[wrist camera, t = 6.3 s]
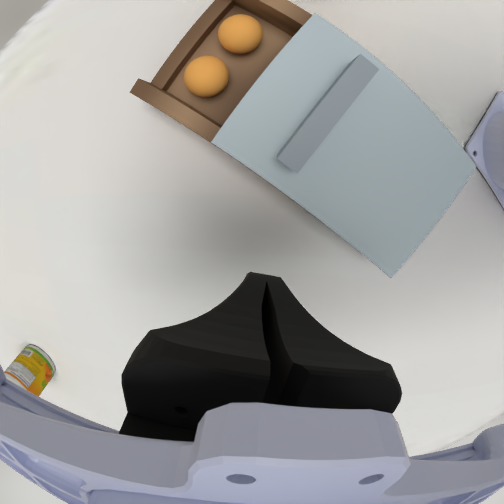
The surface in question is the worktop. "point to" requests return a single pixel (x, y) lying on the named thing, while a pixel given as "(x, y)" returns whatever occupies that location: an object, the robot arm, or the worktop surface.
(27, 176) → the worktop surface
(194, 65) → the ball
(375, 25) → the worktop surface
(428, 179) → the lid
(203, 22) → the case
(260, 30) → the ball
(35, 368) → the supplement bottle
